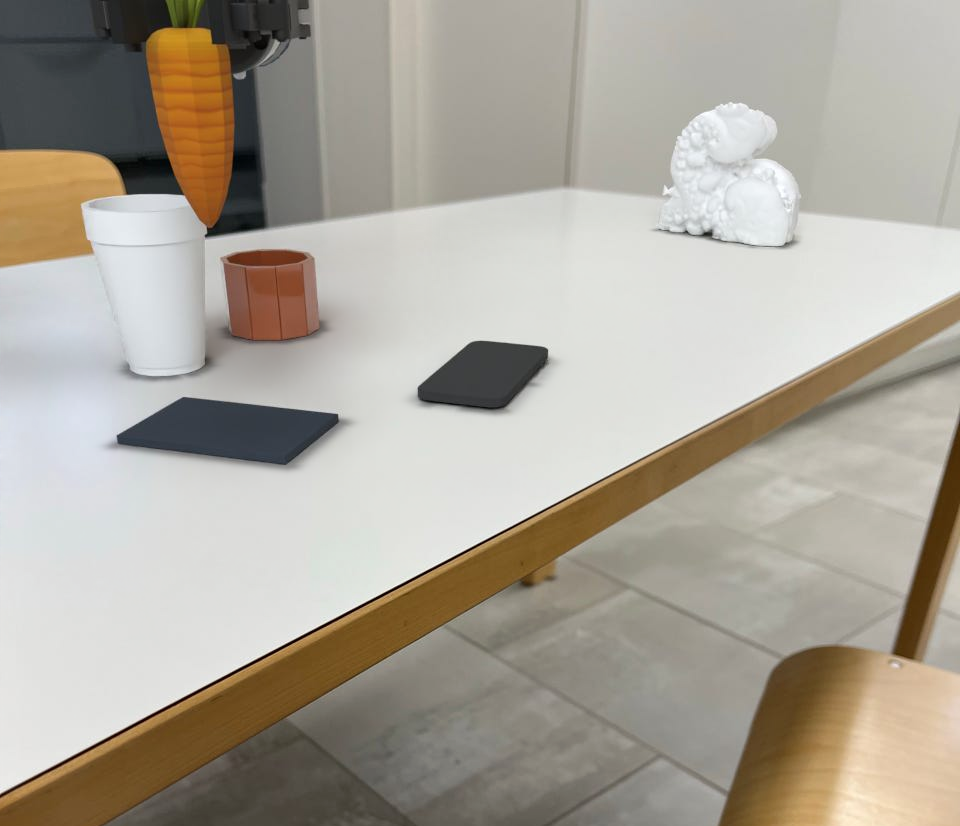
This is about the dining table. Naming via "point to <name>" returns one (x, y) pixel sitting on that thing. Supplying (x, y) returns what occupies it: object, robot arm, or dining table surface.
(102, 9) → the robot arm
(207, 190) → the carrot
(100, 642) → the dining table surface
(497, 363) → the phone
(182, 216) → the foam cup
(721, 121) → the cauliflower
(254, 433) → the mat
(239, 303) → the holder
